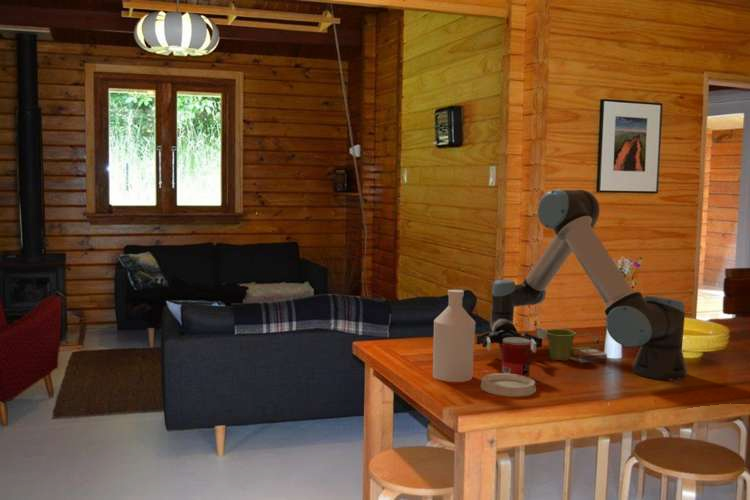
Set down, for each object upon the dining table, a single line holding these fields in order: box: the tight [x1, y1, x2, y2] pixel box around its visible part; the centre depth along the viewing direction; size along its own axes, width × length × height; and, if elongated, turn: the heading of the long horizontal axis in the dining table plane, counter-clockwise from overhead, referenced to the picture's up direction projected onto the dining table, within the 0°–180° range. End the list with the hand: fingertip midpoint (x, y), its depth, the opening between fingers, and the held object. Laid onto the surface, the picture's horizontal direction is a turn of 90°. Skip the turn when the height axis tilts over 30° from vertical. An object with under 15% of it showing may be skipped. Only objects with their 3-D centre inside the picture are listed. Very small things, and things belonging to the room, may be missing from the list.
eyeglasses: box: [534, 325, 600, 342], centre depth 278 cm, size 15×18×4 cm
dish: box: [480, 372, 537, 398], centre depth 213 cm, size 15×15×2 cm
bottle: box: [432, 289, 476, 383], centre depth 222 cm, size 12×12×25 cm
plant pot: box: [545, 328, 577, 362], centre depth 248 cm, size 9×9×9 cm
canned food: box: [501, 337, 532, 378], centre depth 225 cm, size 8×8×11 cm
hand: (512, 347), depth 234 cm, fingers open, 13 cm apart
